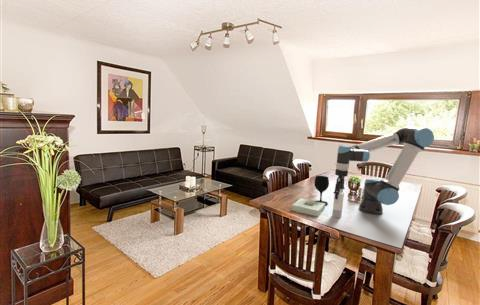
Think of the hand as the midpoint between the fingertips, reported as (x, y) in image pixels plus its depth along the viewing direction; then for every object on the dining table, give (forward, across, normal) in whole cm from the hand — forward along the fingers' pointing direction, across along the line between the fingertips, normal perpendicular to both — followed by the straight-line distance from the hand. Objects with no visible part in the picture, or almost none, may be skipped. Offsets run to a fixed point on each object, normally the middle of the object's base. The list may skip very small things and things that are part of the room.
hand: (337, 200), depth 171 cm
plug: (+10, 0, 0) cm, 11 cm away
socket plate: (+11, 0, -18) cm, 21 cm away
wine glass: (+10, -19, -15) cm, 27 cm away
